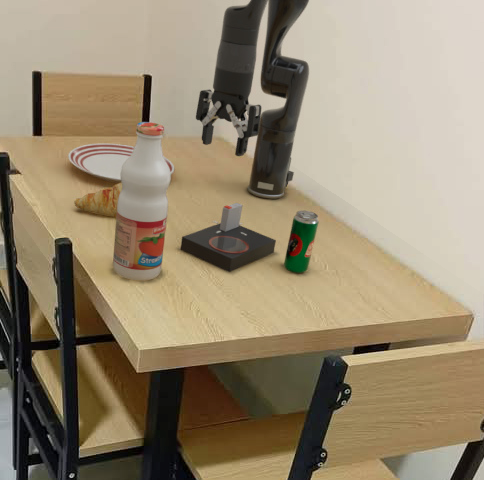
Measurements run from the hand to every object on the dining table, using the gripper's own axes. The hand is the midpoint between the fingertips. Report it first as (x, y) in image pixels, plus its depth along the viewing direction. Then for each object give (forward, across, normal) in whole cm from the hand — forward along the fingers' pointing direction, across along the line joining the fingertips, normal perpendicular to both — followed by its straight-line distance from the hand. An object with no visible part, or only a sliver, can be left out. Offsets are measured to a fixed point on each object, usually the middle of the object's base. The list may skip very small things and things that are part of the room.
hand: (222, 149), depth 151 cm
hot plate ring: (+17, -9, +5) cm, 19 cm away
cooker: (+20, -7, +2) cm, 21 cm away
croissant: (+20, +22, +6) cm, 30 cm away
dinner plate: (+20, +42, -14) cm, 48 cm away
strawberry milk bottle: (+20, -2, +25) cm, 32 cm away
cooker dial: (+17, -3, -2) cm, 17 cm away
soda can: (+20, -21, -3) cm, 29 cm away
